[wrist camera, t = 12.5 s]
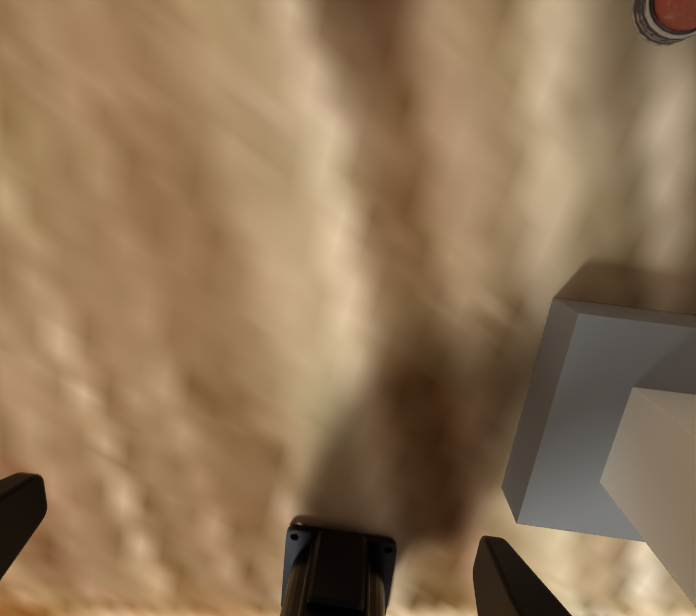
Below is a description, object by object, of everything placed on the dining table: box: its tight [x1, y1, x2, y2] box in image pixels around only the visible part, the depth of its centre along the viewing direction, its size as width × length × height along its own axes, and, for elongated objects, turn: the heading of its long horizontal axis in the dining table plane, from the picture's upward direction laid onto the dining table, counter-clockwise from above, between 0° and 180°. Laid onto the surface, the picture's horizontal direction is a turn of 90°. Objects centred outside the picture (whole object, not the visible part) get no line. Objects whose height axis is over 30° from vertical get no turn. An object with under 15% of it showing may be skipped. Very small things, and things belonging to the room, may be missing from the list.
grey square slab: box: [502, 298, 696, 542], centre depth 19 cm, size 11×11×3 cm
